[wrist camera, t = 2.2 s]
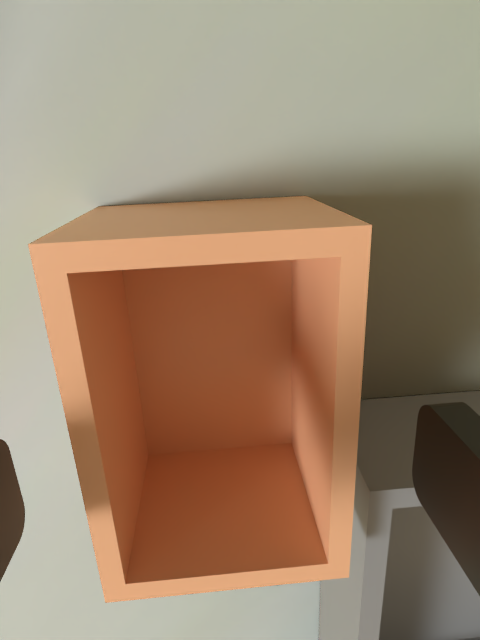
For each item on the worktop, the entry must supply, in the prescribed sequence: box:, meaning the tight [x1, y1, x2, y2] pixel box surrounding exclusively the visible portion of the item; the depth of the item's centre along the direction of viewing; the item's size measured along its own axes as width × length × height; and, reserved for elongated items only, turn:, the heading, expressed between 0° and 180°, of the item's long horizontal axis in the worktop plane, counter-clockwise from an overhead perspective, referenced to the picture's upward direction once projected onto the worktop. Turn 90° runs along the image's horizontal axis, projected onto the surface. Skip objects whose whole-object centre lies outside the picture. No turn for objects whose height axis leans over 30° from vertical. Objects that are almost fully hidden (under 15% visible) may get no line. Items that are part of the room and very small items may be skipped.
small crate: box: [28, 196, 372, 603], centre depth 11 cm, size 8×6×5 cm
